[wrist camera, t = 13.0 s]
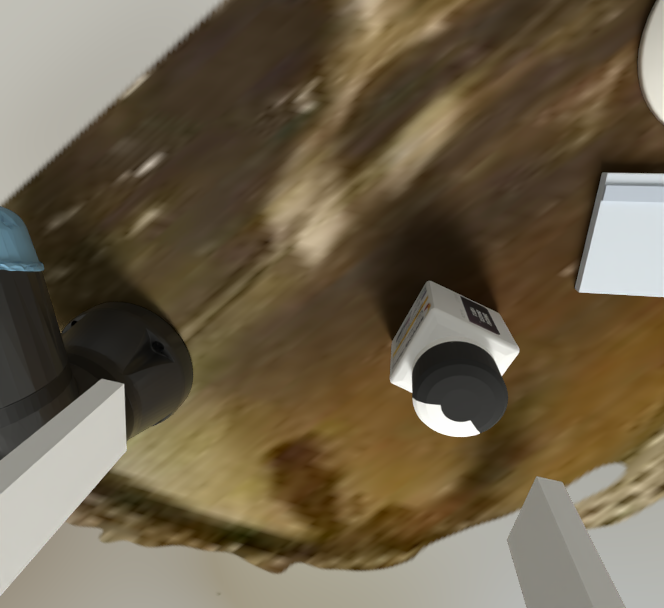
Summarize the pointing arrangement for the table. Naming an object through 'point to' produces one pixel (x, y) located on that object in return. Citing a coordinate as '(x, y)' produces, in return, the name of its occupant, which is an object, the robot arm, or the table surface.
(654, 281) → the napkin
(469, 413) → the container
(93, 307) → the robot arm
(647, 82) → the saucer
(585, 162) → the table surface
